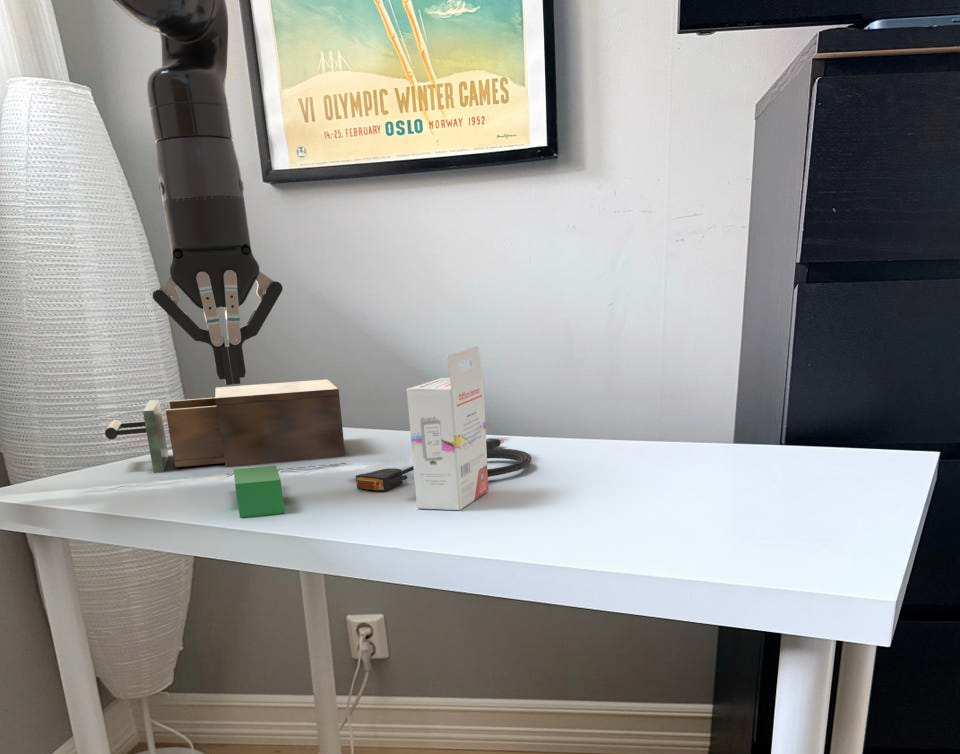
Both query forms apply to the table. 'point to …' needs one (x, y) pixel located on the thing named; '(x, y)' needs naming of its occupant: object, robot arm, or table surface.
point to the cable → (393, 476)
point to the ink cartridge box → (449, 435)
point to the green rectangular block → (258, 491)
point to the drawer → (178, 432)
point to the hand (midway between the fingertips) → (232, 383)
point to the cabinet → (280, 422)
